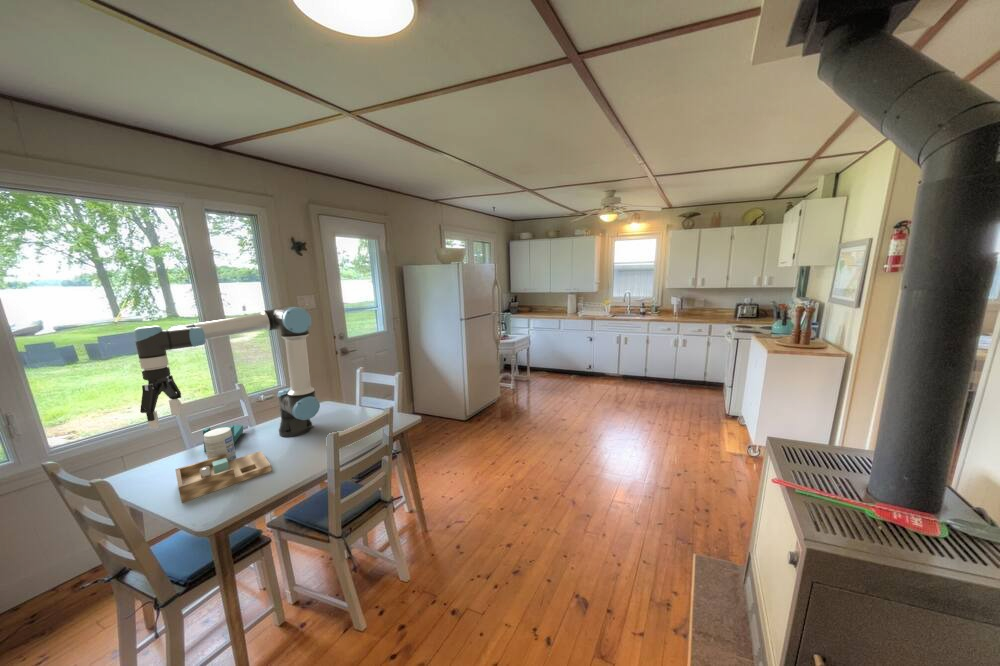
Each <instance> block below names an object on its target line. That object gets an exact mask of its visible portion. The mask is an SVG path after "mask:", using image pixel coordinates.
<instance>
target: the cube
mask: <svg viewBox="0 0 1000 666" xmlns="http://www.w3.org/2000/svg"><path fill="white" fill-rule="evenodd" d="M212 464H213V470H214V474H217V473H220V472H223V471H226V470H229V465H228V461H227V459H226V458H224V459H220V460H217V461H214V462H212Z"/></svg>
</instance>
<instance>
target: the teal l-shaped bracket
mask: <svg viewBox="0 0 1000 666" xmlns="http://www.w3.org/2000/svg"><path fill="white" fill-rule="evenodd" d="M224 427H228V428H231V431H232V436H233V442H234V445H235V444H236V442H237V441H238V439H239V438H240V436H241V435H242V433H244V425H243V424H240V425H238V424H237V425H228V426H217V427H216V428H215V429H218V428H224ZM209 431H211V428H210V427H209V426H208V427H205V428H204V429H203V430H202V437H203V440H204V434H205V433H207V432H209ZM203 450H204V451H203V452H204V453H206V448H205V443H204V442H203Z"/></svg>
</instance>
